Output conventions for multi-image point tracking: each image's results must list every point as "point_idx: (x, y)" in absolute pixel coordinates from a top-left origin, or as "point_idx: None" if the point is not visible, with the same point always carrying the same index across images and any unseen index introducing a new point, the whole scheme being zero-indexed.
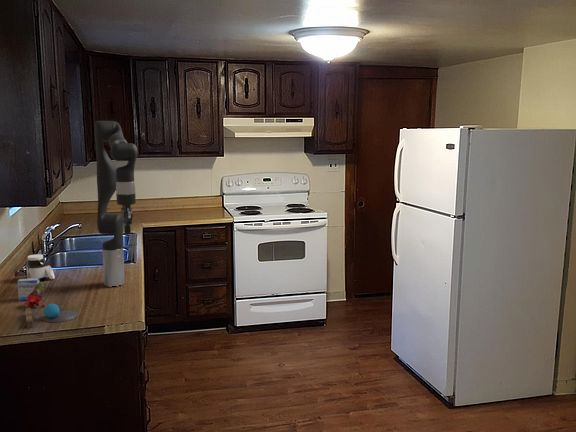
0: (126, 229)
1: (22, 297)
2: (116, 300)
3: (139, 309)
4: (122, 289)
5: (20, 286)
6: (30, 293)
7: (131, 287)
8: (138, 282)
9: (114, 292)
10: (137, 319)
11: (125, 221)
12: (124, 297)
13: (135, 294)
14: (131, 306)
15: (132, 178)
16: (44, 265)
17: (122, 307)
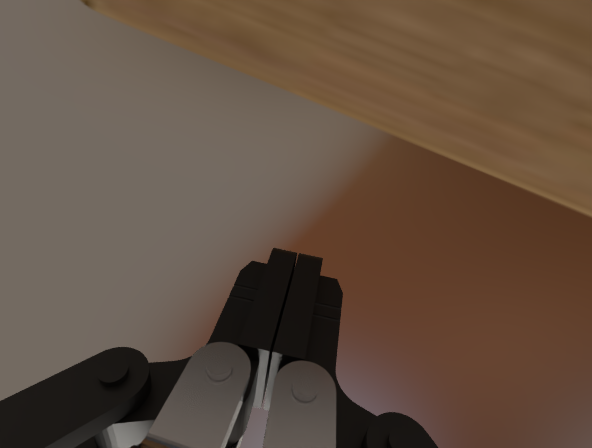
0: (228, 301)
1: None
2: (403, 13)
3: (221, 60)
4: (551, 106)
5: None
6: None
7: (543, 152)
8: (588, 206)
9: (539, 52)
10: (107, 5)
11: (55, 413)
12: (420, 66)
13: (426, 125)
14: (275, 45)
15: None
16: None
17: (283, 2)
